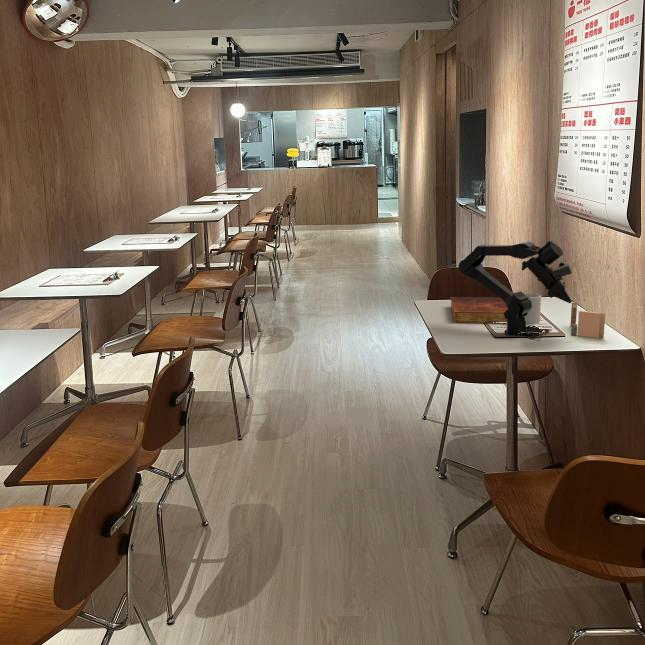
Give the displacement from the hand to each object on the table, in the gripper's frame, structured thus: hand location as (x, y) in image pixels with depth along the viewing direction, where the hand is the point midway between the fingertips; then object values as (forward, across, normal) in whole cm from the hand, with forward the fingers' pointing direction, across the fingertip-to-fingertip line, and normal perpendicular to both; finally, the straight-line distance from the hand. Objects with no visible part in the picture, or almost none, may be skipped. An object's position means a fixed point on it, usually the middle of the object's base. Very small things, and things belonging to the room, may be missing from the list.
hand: (571, 302), depth 294 cm
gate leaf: (+14, +1, +3) cm, 15 cm away
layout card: (+14, +5, +5) cm, 15 cm away
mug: (0, +24, +20) cm, 31 cm away
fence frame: (+11, +10, +8) cm, 17 cm away
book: (-13, +31, +34) cm, 48 cm away
